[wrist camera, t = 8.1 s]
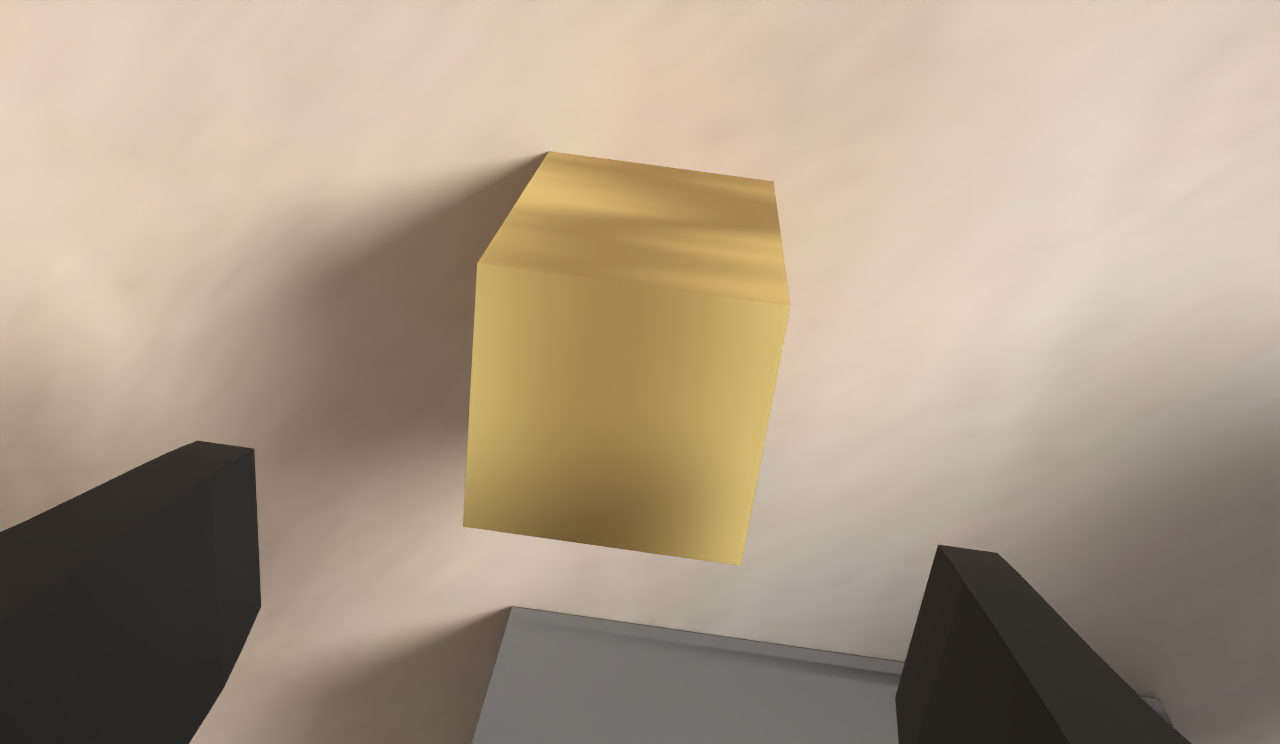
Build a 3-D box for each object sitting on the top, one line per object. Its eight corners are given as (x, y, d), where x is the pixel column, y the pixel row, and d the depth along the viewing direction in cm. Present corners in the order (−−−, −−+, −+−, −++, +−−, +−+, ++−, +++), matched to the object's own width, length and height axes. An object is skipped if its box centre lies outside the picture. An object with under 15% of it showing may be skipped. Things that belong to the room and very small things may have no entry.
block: (773, 181, 19) (789, 305, 14) (738, 383, 21) (741, 565, 15) (549, 150, 19) (476, 263, 14) (532, 354, 21) (463, 526, 15)
